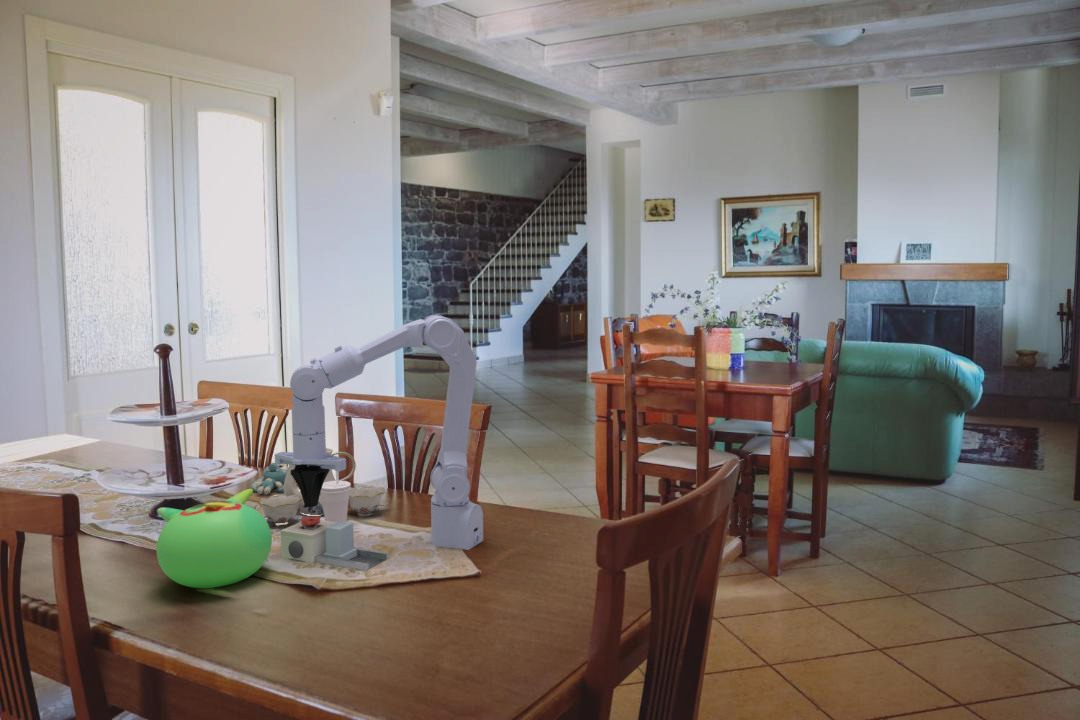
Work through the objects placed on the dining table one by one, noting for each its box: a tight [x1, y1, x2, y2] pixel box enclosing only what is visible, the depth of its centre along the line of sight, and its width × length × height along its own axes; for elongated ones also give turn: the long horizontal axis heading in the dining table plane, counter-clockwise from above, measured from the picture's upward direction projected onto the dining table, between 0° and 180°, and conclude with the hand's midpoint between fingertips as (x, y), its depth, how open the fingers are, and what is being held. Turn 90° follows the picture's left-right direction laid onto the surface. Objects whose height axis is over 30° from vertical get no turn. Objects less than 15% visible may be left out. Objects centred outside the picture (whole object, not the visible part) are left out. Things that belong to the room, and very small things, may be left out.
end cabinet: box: [280, 519, 337, 564], centre depth 153 cm, size 7×8×6 cm
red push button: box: [300, 516, 321, 530], centre depth 153 cm, size 3×3×5 cm
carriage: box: [323, 521, 357, 560], centre depth 151 cm, size 4×4×6 cm
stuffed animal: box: [250, 462, 289, 495], centre depth 201 cm, size 11×7×12 cm
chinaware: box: [253, 447, 391, 524], centre depth 180 cm, size 28×17×17 cm, turn 118°
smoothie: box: [321, 471, 352, 522], centre depth 169 cm, size 6×6×14 cm
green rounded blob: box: [156, 488, 273, 589], centre depth 141 cm, size 18×17×15 cm
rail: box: [314, 546, 390, 572], centre depth 150 cm, size 11×7×2 cm, turn 66°
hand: (311, 505), depth 153 cm, fingers closed
